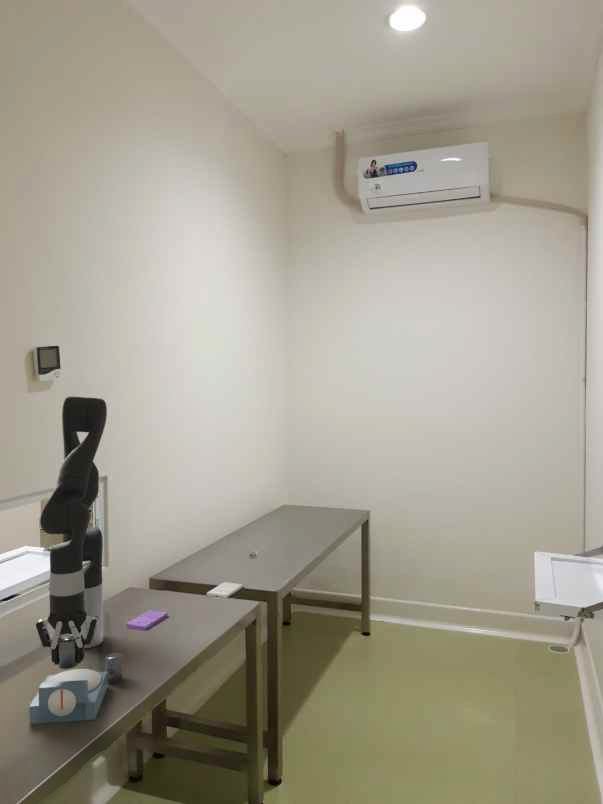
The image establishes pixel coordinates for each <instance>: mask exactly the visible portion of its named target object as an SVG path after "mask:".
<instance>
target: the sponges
mask: <svg viewBox="0 0 603 804" xmlns="http://www.w3.org/2000/svg"><path fill="white" fill-rule="evenodd" d="M168 613H169V612H167V611H155V610H151V609H150V610H147V611H146V612H144V613H143V614H141V615H139V616H137V617H135V618H133V619H132V620H129V621H128V622H126V623H125V624H126V628H128V629H134V630H140V631H147V630H148V629H149V628H150V629H151V627H153V626H155V625H156V624H157V623H160V622H161V621H163V620H164V619H165V618H167V617H168Z"/></svg>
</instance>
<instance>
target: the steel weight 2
mask: <svg viewBox="0 0 603 804" xmlns="http://www.w3.org/2000/svg"><path fill="white" fill-rule="evenodd" d="M104 667H105V668H104V672H107V685H115V684H118V683H121V682H122V681H123V680H124V655H123V653H120V652H111V653H108V654H106V655H105V656H104Z"/></svg>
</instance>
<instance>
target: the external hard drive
mask: <svg viewBox="0 0 603 804" xmlns="http://www.w3.org/2000/svg"><path fill="white" fill-rule="evenodd" d="M242 587H243V588H244V585H243V584H242V583H241V584H240V583H233V582H226V581H225V582H222V583H220V584H219V585H217V586H216V587H214V588H213V589H210V590H209V591H207V592H206V596H211V597H219V598H225V599H228V598H229V597H230V596H232V595H234V594H235V593H236V592H238V591H240V590H241V589H242Z"/></svg>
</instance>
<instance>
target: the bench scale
mask: <svg viewBox="0 0 603 804" xmlns="http://www.w3.org/2000/svg"><path fill="white" fill-rule="evenodd" d="M107 689H108V683H107V672H105V671H96V670H93V669H88V668H77V669H68V670H65V671H61V672H58V673H57V674H48V675H47V677H46V678H45V680H44V681H43V682H41V683H40V685H39V687H38V692H37V693H36V695H35V697H34V698H33V700H32V702H31V703H30V705H29V725H38V724H41V725H42V724H52V723H55V724H56V723H67V722H80V721H81V722H82V721H94V720H96V717H97V716H98V713H99V711H100V708H101V706H102V702H103V699H104V697H105V695H106V693H107Z"/></svg>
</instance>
